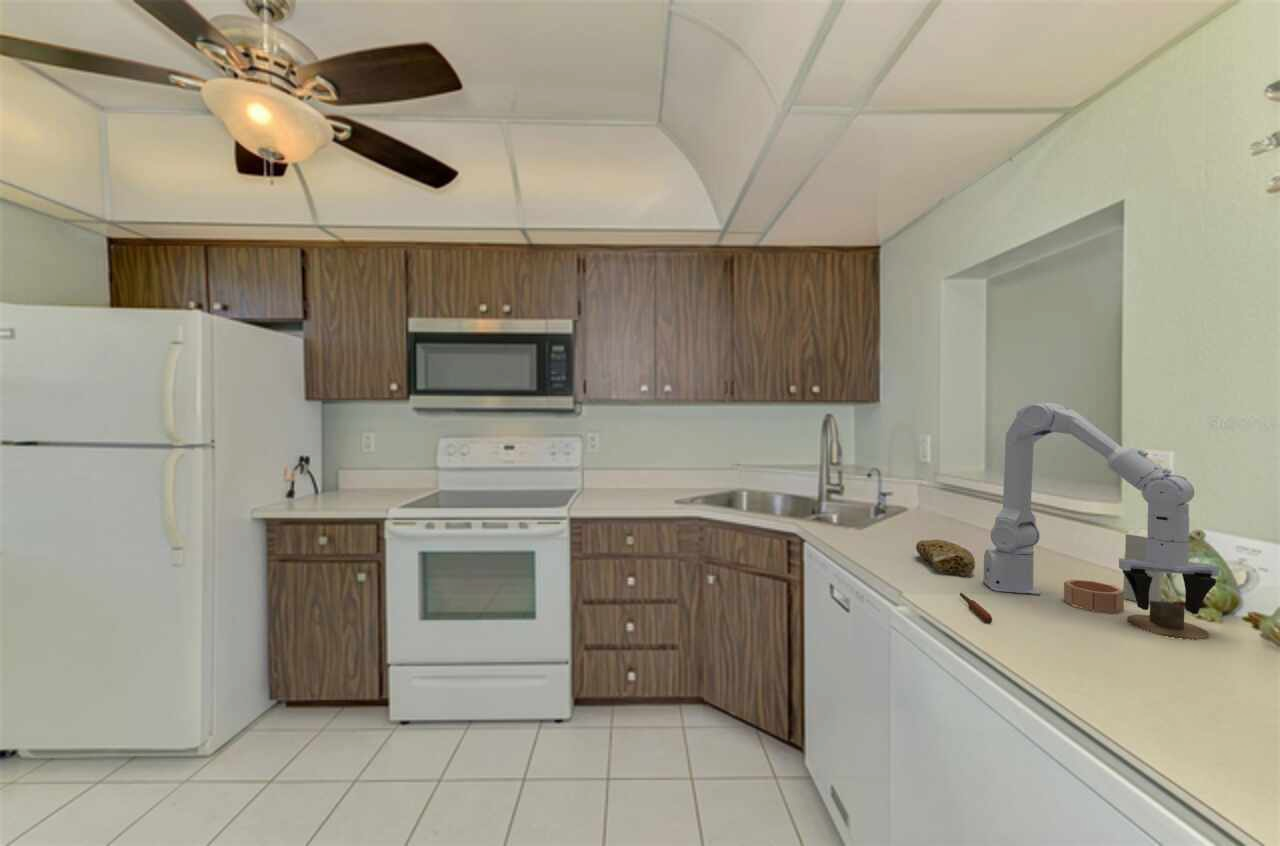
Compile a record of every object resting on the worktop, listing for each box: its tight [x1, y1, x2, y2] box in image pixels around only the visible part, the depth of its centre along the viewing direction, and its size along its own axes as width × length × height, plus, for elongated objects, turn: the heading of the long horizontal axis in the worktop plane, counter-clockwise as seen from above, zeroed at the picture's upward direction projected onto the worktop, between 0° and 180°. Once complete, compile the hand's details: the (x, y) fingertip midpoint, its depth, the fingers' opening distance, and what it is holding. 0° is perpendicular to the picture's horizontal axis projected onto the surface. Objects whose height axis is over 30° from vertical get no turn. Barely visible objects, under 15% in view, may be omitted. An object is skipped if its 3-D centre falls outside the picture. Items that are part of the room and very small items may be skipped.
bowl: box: [1063, 579, 1125, 614], centre depth 117 cm, size 9×9×4 cm
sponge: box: [915, 538, 976, 577], centre depth 147 cm, size 13×8×20 cm
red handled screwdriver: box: [959, 592, 993, 624], centre depth 114 cm, size 16×1×2 cm, turn 168°
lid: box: [1126, 601, 1210, 641], centre depth 104 cm, size 11×11×5 cm
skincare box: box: [1122, 528, 1164, 605], centre depth 121 cm, size 8×6×15 cm
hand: (1167, 610), depth 104 cm, fingers open, 7 cm apart
